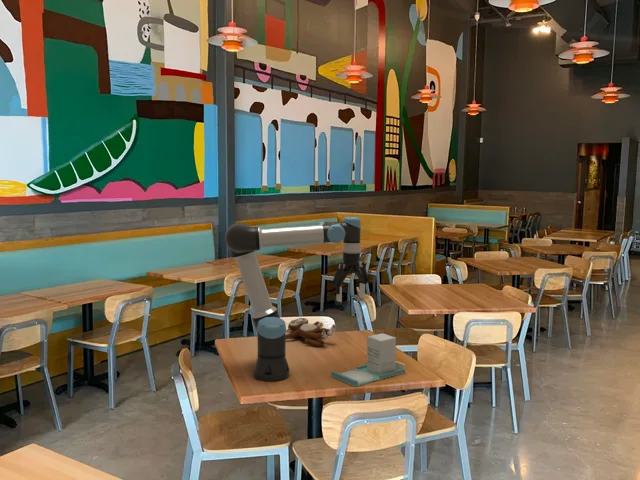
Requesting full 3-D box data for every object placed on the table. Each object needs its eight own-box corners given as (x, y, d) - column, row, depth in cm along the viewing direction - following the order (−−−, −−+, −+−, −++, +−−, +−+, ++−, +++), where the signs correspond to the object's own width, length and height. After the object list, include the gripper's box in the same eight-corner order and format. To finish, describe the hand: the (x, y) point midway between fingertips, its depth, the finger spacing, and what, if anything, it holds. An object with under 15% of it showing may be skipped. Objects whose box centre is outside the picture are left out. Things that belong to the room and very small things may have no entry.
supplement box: (381, 366, 250) (382, 332, 248) (396, 371, 243) (396, 337, 241) (366, 369, 245) (366, 335, 243) (379, 375, 237) (380, 340, 236)
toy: (316, 335, 271) (269, 326, 289) (318, 355, 273) (272, 345, 292) (342, 319, 288) (296, 311, 306) (344, 338, 290) (299, 330, 308)
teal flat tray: (355, 387, 226) (355, 377, 225) (331, 376, 237) (331, 367, 237) (405, 372, 243) (405, 364, 243) (380, 363, 255) (381, 355, 254)
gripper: (366, 249, 262) (365, 295, 265) (324, 253, 247) (323, 301, 249) (377, 251, 257) (376, 297, 259) (335, 255, 241) (334, 304, 243)
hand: (350, 299), depth 254 cm, fingers open, 13 cm apart
